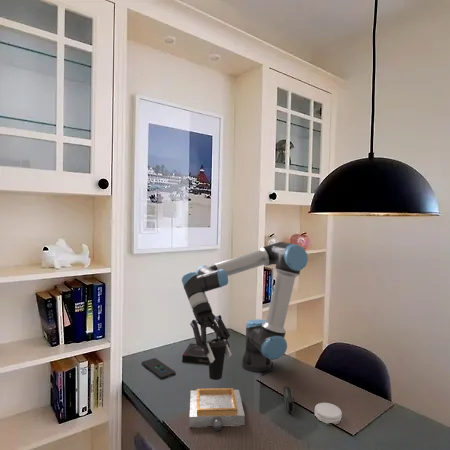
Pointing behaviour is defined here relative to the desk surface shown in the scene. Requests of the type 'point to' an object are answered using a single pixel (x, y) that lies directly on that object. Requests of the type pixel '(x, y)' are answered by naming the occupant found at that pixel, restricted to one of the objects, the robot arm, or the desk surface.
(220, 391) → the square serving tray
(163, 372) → the smart home device
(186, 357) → the portable cd player
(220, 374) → the drinking cup
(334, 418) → the coaster
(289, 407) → the mobile phone
